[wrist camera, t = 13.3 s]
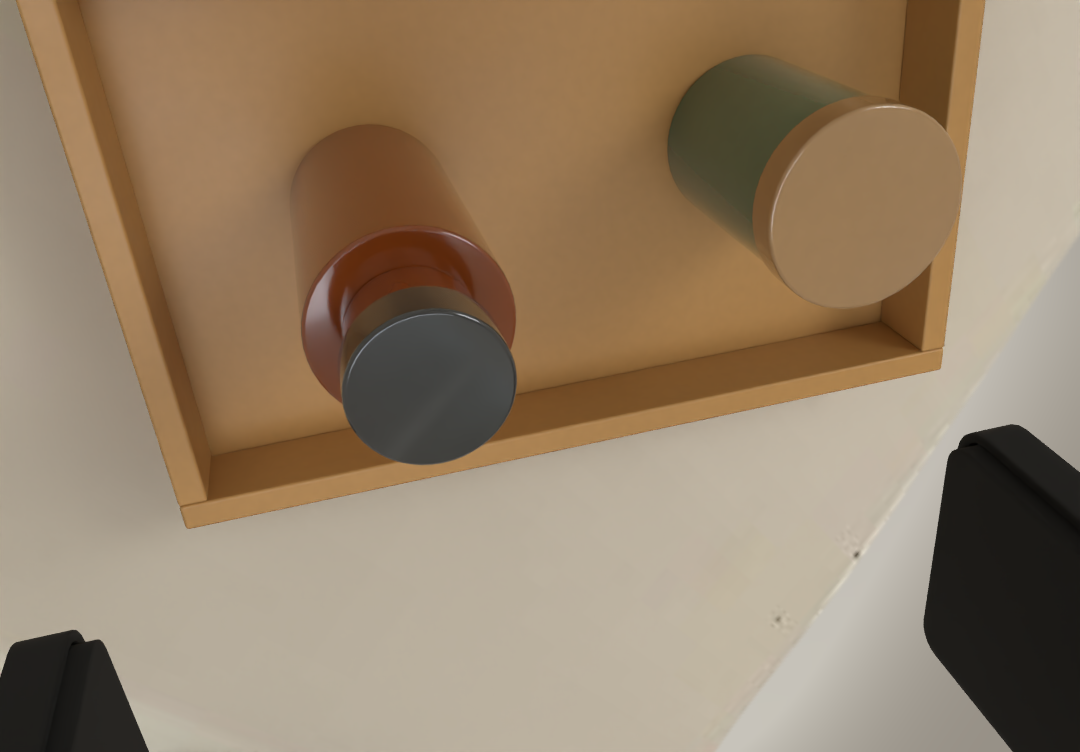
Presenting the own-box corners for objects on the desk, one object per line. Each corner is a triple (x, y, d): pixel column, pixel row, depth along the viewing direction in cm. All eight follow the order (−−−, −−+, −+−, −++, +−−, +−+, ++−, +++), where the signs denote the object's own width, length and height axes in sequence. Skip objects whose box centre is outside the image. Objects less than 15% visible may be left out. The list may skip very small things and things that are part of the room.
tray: (20, -85, 23) (-11, -76, 21) (935, -183, 27) (1009, -186, 25) (192, 471, 31) (186, 530, 28) (889, 330, 35) (942, 370, 32)
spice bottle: (273, 136, 26) (282, 303, 17) (438, 112, 27) (538, 257, 17) (307, 290, 28) (332, 515, 19) (459, 263, 29) (559, 467, 20)
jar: (660, 63, 28) (771, 121, 22) (825, 39, 29) (976, 89, 23) (665, 232, 30) (766, 326, 24) (817, 205, 31) (951, 290, 25)
